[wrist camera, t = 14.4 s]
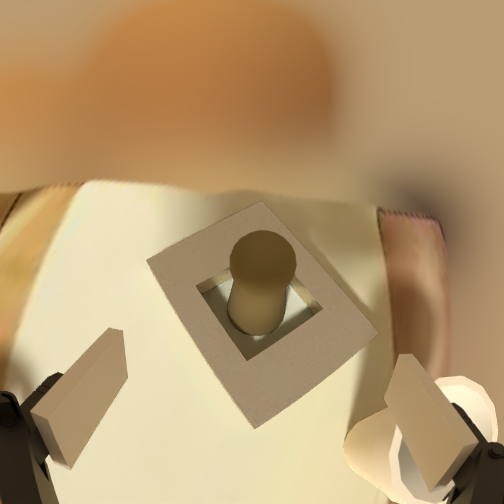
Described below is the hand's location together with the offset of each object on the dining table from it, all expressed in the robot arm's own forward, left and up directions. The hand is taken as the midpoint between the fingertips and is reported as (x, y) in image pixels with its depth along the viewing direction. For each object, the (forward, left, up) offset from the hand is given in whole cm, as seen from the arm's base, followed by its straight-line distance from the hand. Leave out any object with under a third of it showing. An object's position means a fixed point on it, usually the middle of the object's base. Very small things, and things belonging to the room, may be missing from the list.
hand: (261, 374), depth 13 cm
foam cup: (+11, +7, -16) cm, 21 cm away
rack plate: (-8, +6, -16) cm, 19 cm away
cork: (-8, +6, -16) cm, 19 cm away
